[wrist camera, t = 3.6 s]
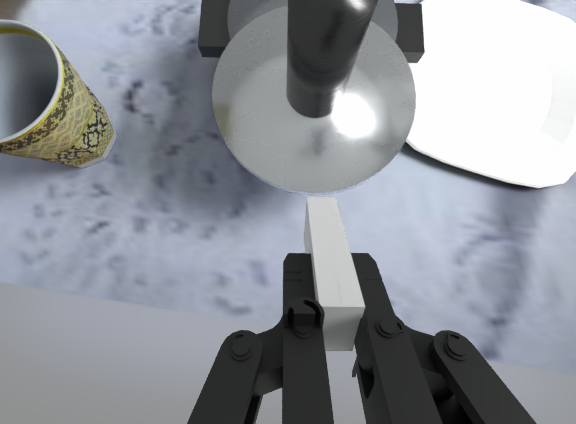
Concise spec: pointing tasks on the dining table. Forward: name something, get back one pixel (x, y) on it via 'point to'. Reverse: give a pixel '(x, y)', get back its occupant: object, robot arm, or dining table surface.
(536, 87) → the plate
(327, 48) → the lid
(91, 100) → the ceramic cup
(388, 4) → the pot
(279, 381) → the robot arm
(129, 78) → the dining table surface
